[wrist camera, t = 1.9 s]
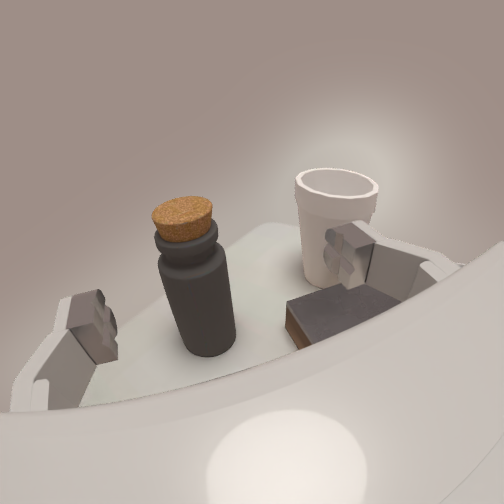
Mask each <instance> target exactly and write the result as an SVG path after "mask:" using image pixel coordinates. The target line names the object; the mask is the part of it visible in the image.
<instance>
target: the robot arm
mask: <svg viewBox="0 0 504 504" xmlns="http://www.w3.org/2000/svg"><path fill="white" fill-rule="evenodd" d="M325 240H326V242H327V245H326V246H325V248H324V253H323V258H324V262H325V264H326V266H327V268H328V269H329V270H330V271H331V272H332V273H335V274H338V280H339V281H340V282H341V283H342V284H343V285H344V286H345V287H346V289H347V290H349V289H351V288H354V287H357V286H360V285H362V284H365V283H366V285H368V286H370V287H372V288H374V289H376V290H379V291H381V292H383V293H385V294H387V295H389V296H391V297H393V298H395V299H397V300H399V301H401V302H402V303H400V304H398V305H396V306H394V307H393V308H391V309H389V310H387V311H385V312H383V313H381V314H379V315H377V316H375V317H373V318H371V319H369V320H367V321H365V322H362V323H360V324H358V325H356V326H354V327H352V328H350V329H348V330H345V331H343V332H341V333H339V334H336V335H334V336H332V337H330V338H327V339H325V340H323V341H320V342H318V343H315V344H313V345H310V346H308V347H306V348H303V349H300V350H298V351H295V352H293V353H290V354H288V355H285V356H282V357H280V358H277V359H274V360H271V361H269V362H266V363H263V364H260V365H257V366H254V367H251V368H248V369H245V370H242V371H239V372H236V373H233V374H229V375H226V376H223V377H219V378H216V379H213V380H209V381H206V382H202V383H198V384H195V385H191V386H187V387H183V388H179V389H175V390H171V391H167V392H163V393H158V394H154V395H149V396H144V397H139V398H134V399H129V400H124V401H118V402H112V403H106V404H100V405H93V406H85V407H79V404H80V402H81V400H82V397H83V395H84V393H85V391H86V388H87V386H88V384H89V382H90V380H91V378H92V375H93V373H94V371H95V369H96V367H97V366H96V365H99V364H103V363H108V362H112V361H116V360H118V344H117V343H116V341H115V340H114V339H115V337H116V336H117V325H116V320H115V317H114V315H113V312H112V310H111V309H110V308H109V307H107V306H106V305H105V297H104V295H103V293H102V292H101V290H99V289H97V290H93V291H89V292H85V293H81V294H77V295H74V296H69V297H65V298H62V299H61V300H60V301H59V305H58V310H57V314H56V318H55V323H54V327H53V332H52V333H50V334H48V336H47V337H46V338H45V339H44V341H43V342H42V343H41V345H40V346H39V347H38V348H37V350H36V351H35V352H34V354H33V355H32V357H31V358H30V359H29V361H28V362H27V363H26V365H25V366H24V368H23V369H22V370H21V372H20V373H19V375H18V376H17V377H16V379H15V380H14V382H13V389H12V395H11V404H10V412H0V504H504V241H500V242H498V243H496V244H495V245H493V246H492V247H491V248H489V249H488V250H487V251H485V252H484V253H483V254H481V255H479V256H478V257H477V258H475V259H474V260H472V261H471V262H469V263H468V264H466V265H465V266H463V267H461V268H460V267H458V266H457V265H456V264H455V263H453V262H452V261H451V260H450V259H448V258H447V257H445V256H444V255H443V254H442V253H440V252H436V251H433V250H430V249H427V248H423V247H420V246H417V245H413V244H410V243H406V242H402V241H399V240H396V239H392V238H388V239H387V238H385V237H384V236H383V235H382V234H380V233H379V232H378V231H376V230H375V229H374V228H372V227H371V226H369V225H368V224H367V223H365V222H364V221H362V220H356V221H353V222H350V223H347V224H344V225H340V226H337V227H333V228H329V229H327V230H326V233H325Z"/></svg>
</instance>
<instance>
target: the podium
mask: <svg viewBox="0 0 504 504" xmlns="http://www.w3.org/2000/svg"><path fill="white" fill-rule="evenodd" d="M400 303H402V302H401V301H399V300H397V299H395V298H393V297H391V296H389V295H387V294H385V293H383V292H381V291H379V290H376V289H374V288H372V287H370V286H368V285H366V283H365V284H362V285H360V286H357V287H354V288H351V289H349V290H347V289H346V287H345V286H344V285H343V284H342V283H339V284H336V285H334V286H331V287H328V288H325V289H322V290H319V291H316V292H313V293H311V294H308V295H305V296H302V297H299V298H296V299H293V300H289V301H287V303H286V322H285V328H286V329H287V331H288V332H289V334H290V336H291V337H292V339H293V341H294V342H295V344H296V346H297V347H298V349H299V350H300V349H303V348H306V347H308V346H310V345H313V344H315V343H318V342H320V341H323V340H325V339H327V338H330V337H332V336H334V335H336V334H339V333H341V332H343V331H345V330H348V329H350V328H352V327H354V326H356V325H358V324H360V323H362V322H365V321H367V320H369V319H371V318H373V317H375V316H377V315H379V314H381V313H383V312H385V311H387V310H389V309H391V308H393V307H394V306H396V305H398V304H400Z"/></svg>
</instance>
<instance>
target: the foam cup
mask: <svg viewBox="0 0 504 504" xmlns="http://www.w3.org/2000/svg"><path fill="white" fill-rule="evenodd" d="M378 187H379V186H378V185H377V184H376V183H375V182H374V181H373V180H372V179H371V178H369V177H367V176H365V175H362V174H360V173H356V172H353V171H348V170H344V169H334V168H319V169H310V170H307V171H304V172H301V173H300V174H299V175H298V176H297V177H296V178H295V199H296V202H297V205H298V214H299V224H300V234H301V245H302V256H303V268H304V274H305V278H306V279H307V280H308V281H309V282H310V283H311V284H312V285H315V286H317V287H319V288H323V289H325V288H328V287H331V286H334V285H336V284H339V283H341V282H340V281H339V280H338V274H335V273H332V272H331V271H330V270H329V269H328V268H327V266H326V264H325V262H324V258H323V253H324V248H325V246H326V245H327V242H326V240H325V233H326V230H327V229H329V228H333V227H337V226H340V225H344V224H347V223H350V222H353V221H356V220H362V221H364V222H365V223H367V224H368V225H369V223H370V219H371V216H372V213H374V212H375V207H376V201H377V194H378Z"/></svg>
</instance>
